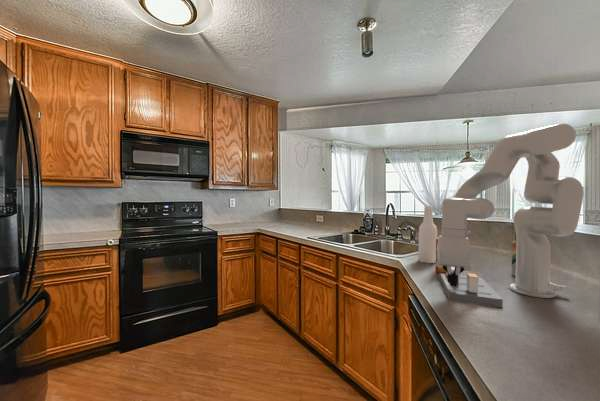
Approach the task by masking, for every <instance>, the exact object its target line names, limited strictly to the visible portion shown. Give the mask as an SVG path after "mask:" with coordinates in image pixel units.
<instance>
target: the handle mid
mask: <svg viewBox="0 0 600 401" xmlns="http://www.w3.org/2000/svg"><path fill="white" fill-rule="evenodd" d="M454 269H455V267H451V271H452V273H453V272H454ZM459 275H461V273H460V274H459ZM459 275H458V284H459ZM456 284H457V283H456Z"/></svg>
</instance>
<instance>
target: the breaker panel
mask: <svg viewBox="0 0 600 401" xmlns="http://www.w3.org/2000/svg"><path fill="white" fill-rule="evenodd" d="M438 274H439V282H440V284H441V286H442V288H443V290H444V292H445V294H446V296H447V298H448V301H451V302H453V301H454V302H460V303H461V302H462V303H468V304H474V305H476V304H477V305H483V306H491V307H498V308H503V302H504V301H503V298H502V297H501V296H500V295H499V294H498V293H497V292H496V291H495V290H494V288H492V287H491V285H489V284H488V283H487V282H486V281H485V280H484V279H483V278H482V277H481V276H478V293H474V292H469V291H468V289H467V275H464V274H463V275H461V274H460V275H459V284H456V286H450V284H449V283H448V276H447V274H443V273H438Z"/></svg>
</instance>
